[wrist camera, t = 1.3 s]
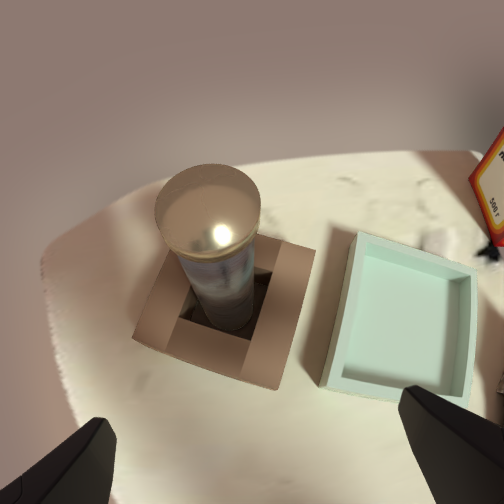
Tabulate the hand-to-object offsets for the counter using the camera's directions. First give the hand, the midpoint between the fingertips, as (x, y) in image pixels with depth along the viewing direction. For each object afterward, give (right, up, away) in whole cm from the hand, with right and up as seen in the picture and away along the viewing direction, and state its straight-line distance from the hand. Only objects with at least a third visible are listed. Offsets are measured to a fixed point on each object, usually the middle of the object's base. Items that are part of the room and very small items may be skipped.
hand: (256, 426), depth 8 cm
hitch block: (-2, +1, +15) cm, 15 cm away
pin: (-2, +1, +15) cm, 15 cm away
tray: (+12, -1, +14) cm, 19 cm away
